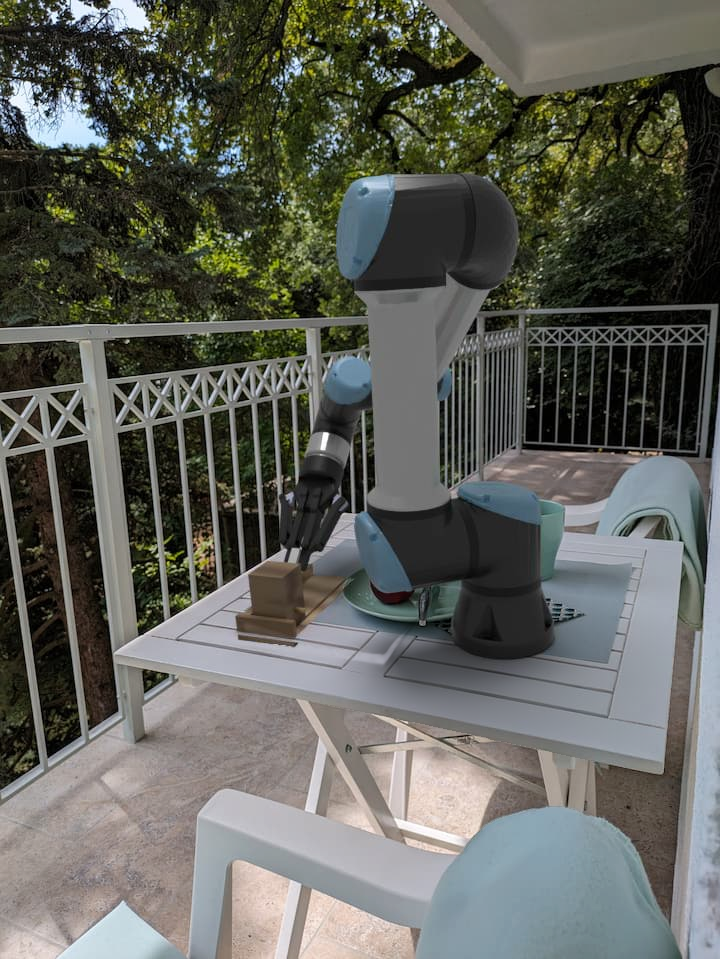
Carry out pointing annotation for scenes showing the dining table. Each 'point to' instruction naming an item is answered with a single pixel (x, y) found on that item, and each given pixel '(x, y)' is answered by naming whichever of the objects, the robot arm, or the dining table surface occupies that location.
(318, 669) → the dining table surface
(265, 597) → the brown wooden block
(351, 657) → the dining table surface
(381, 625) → the dining table surface
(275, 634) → the brown wooden tray
